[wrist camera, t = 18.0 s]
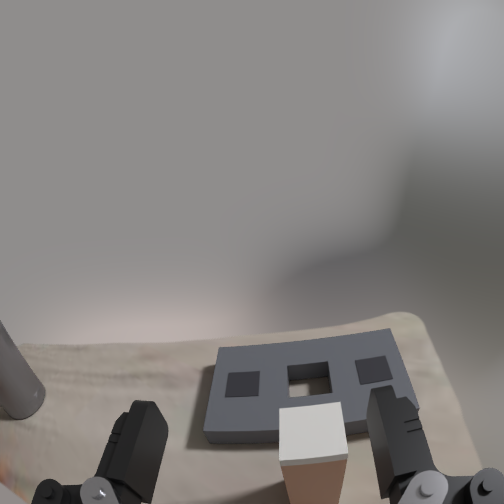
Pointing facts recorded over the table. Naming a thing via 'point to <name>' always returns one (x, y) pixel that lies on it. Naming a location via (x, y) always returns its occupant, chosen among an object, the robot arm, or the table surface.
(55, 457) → the table surface
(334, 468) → the plug
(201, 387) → the table surface
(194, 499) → the table surface
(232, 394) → the grey flat rectangular block
